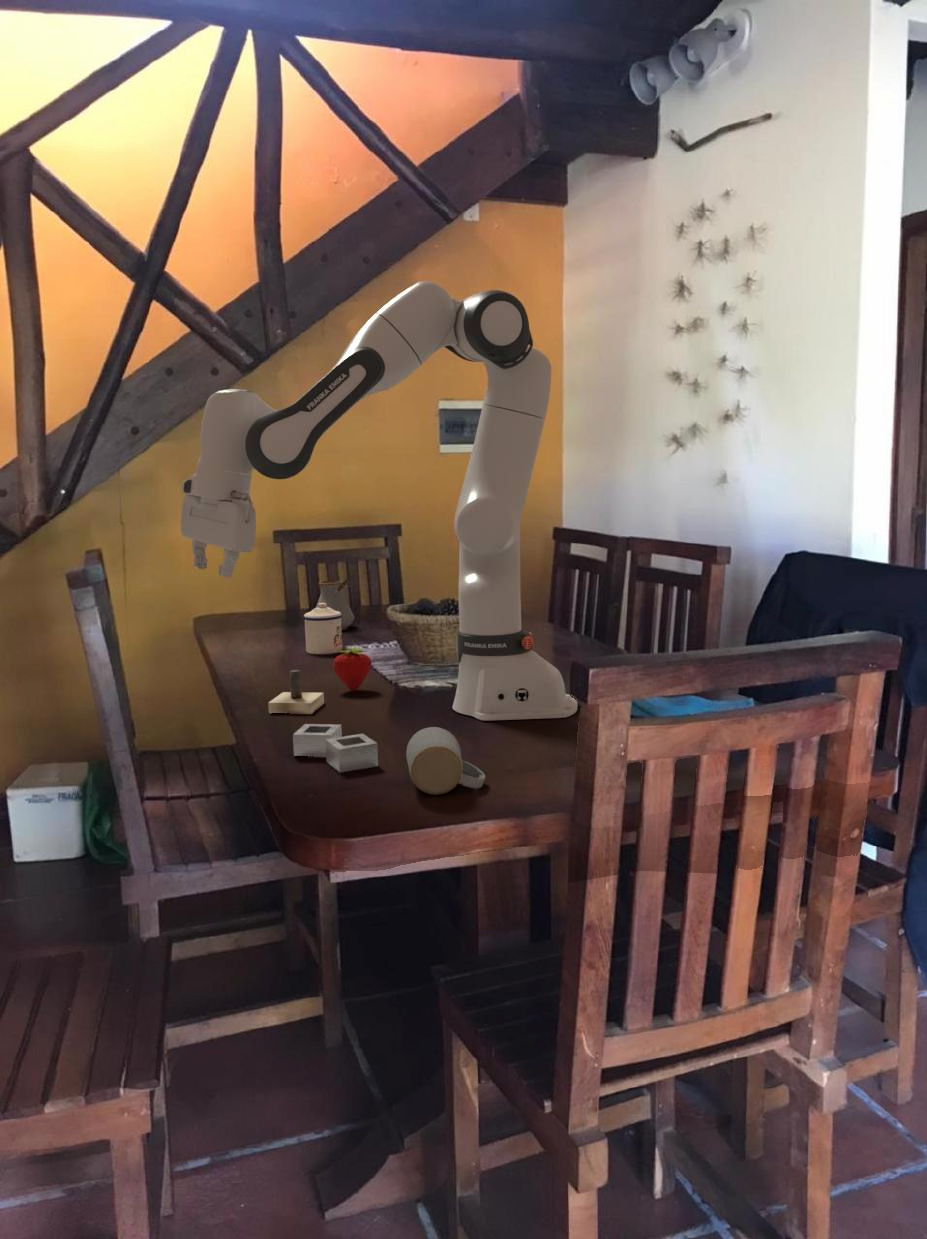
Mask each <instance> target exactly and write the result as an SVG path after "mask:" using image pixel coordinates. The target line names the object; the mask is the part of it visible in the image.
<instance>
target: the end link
mask: <svg viewBox="0 0 927 1239" xmlns="http://www.w3.org/2000/svg"><path fill="white" fill-rule="evenodd" d="M342 735H343V731H342V724H333V723H332V724H331V723H330V724H329V723H328V724H325V723H317V724H316V723H304V724H303V725H302V726H301V727H300V728H299V729H297V731H295V732H294V733H293V734H292V743H293V744H292V746H293V757H294V756H308V757H307V758H326V743H325V739H331V738H338V737H343V736H342ZM310 756H311V757H310ZM312 756H313V757H312Z"/></svg>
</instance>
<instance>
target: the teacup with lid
mask: <svg viewBox="0 0 927 1239" xmlns="http://www.w3.org/2000/svg"><path fill="white" fill-rule="evenodd" d="M341 617H342V615H341V613H340V612H339V611H335V610H333V609H331V608H329V607H326V603H319V604H318V608H316V607H315V608H313V609H311V611H309V612H306V613H305V614H304V615H303V620H304V631H305V632H304V635H305V650H306V653H308V654H311V655H331V654H332V655H333V654H337V653H339V652H340V651H343V635H342V634H343V632H342V628H341Z"/></svg>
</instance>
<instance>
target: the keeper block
mask: <svg viewBox="0 0 927 1239" xmlns="http://www.w3.org/2000/svg"><path fill="white" fill-rule="evenodd" d="M289 683H290V684H289V686H290V691H289V692H288V691H283V692H282V691H281V693H280V694H278V695H277V696H276V697H274V698H273V699H271V700H270V701H269V702H268V703H267V704H268V714H272V713H285V714H284V715H286V713H290V714H289V715H292V714H293V715H312V714H313V713H314V712H316V711H317V710H318V709H319V708H320V707H322V706H323V705H324V704H325V693H324V692H303V691H302V690H303V689H302V672H301V670H300V669H292V670H289ZM315 710H316V711H315Z"/></svg>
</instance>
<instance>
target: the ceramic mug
mask: <svg viewBox="0 0 927 1239" xmlns="http://www.w3.org/2000/svg"><path fill="white" fill-rule="evenodd" d="M461 751H462V750H461V747H460V744H459V741H458V740H457V738H456V737H455V735H453V734H452V733H451V732H450V731H448V730H446V729H445V728H441V727H439V726H438V727H437V726H429V727H425V728H422V729H420V730H419V731H417V732H416V733H415V734H413V735H412V736H411V738H410V739H409V742H408V743H407V747H406V754H405V755H406V756H405V757H406V762H407V767H408V772H409V776H410V778H411V780H412V782H413V784H414V785H415V787H417V789H419V790H420V791H422V792H423V793H424V794H427V795H428V794H429V795H433V796H435V795H436V796H438V795H443V794H444V795H445V794H447V793H449V792H450V791H452V790H453V789H454V788H456V786H457V785H458V784H459V785H461V786H464V787H467V788H471V789H481V788H482V787H483V785H484V783H485V780H486V774H485V773H484V772H483V770H482V769H479V767H477V766H475V765H473V764H472V763H470V762H468V761H466V760H463V758H462V752H461Z"/></svg>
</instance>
